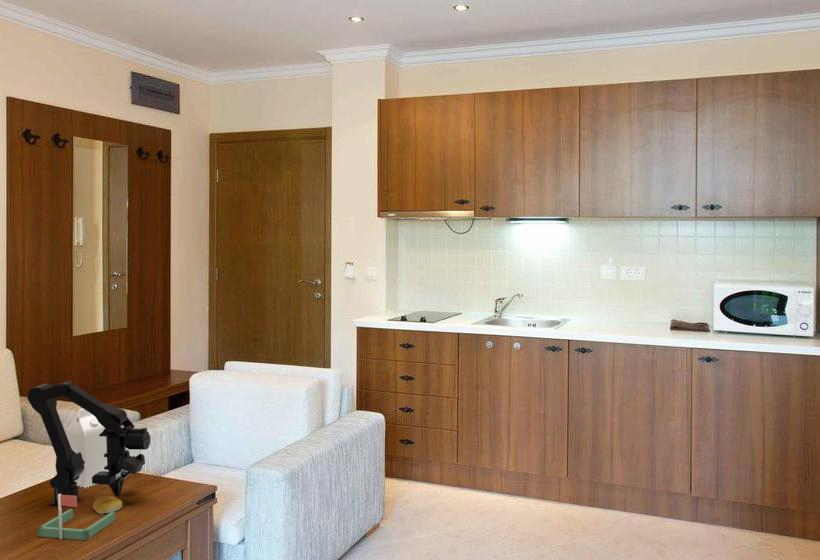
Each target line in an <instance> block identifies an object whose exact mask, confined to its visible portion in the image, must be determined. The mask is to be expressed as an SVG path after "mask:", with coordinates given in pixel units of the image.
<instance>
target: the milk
mask: <svg viewBox="0 0 820 560" xmlns="http://www.w3.org/2000/svg"><path fill="white" fill-rule="evenodd" d="M104 429H105V428H104V427H103V426H102V425H101V424H100V423H99V422H98V420H97V419H96V417H95V416H94V415H93V414H91V413H89V412H88V411H86V410H85V409H83V408H79V409H78V411H77V414H76V418H75V419H74V420H73V421H72V422H71V423H70V424H69V426H67V429H66V430H65V433H66V436H67V438H68V441H69V443H70V446H71V448H72V450H73V451H74V452H75V453H79V452H81V454H82V458H83V460H84V462H85V463H84V470H83V472H82V473H81V474H80V476H79V479H77V480H75V482H77V487H78V486H80V487H79V488H82V487H84V488H83V489H87V488H86V487H88V488H90V487H89V486H91V487H93V486H92V485H94V486H96V485H95V484H92V477H93V476H94V475H95V474H96V473H98V472H100V471H107V472H109V471H108V470H104V467H105V466H106V465H107V457H104V454H105V453H107V446H106V437H105V436H99V434H101V433H102V432H103V430H104Z"/></svg>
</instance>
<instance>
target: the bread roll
mask: <svg viewBox="0 0 820 560" xmlns="http://www.w3.org/2000/svg"><path fill="white" fill-rule="evenodd" d="M122 507H123V501H122V500H121V499H119V497H116V496H115V495H113V494H112V495H110V494H106V495H103V496H99V498H97V499H96V500H95V501H94V502H93V505H92V508H93V510H94V511H95V512H96V513H97V514H98V513H99V515H102V514H103V515H105V514H104V513H107V514H109V513H111V512H115V511H116V512H118V511H120V510H121V509H122ZM120 508H121V509H120ZM117 510H118V511H117ZM116 512H115V513H116Z"/></svg>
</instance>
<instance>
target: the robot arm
mask: <svg viewBox="0 0 820 560" xmlns="http://www.w3.org/2000/svg"><path fill="white" fill-rule="evenodd" d="M60 397H65V399H67V400H69V401H70V402H72V403H74V404H75V405H77V406H79V407H80V408H81V409H85V410H86V411H88V412H89V413H91V414H93V415H94V416H95V417H96V419H97V420H98V422H99V423H100V424H101V425H102V426H103V427H104V428H105V429H104V430H103V432H102V433H101V434H99V436H105V437H106V446H107V453H105V454H104V457H107V465H106V466H105V467H104V470H108V471H109V472H107V471H100V472H98V473H96V474H95V475H94V476H93V477H92V484H96V485H106V486H109V488H110V489H111V492H112V493H113V494H114V495H113V496H115V497H117V498H119V497H120V496H121V493H122V490H123V486H124V483H125V480H126V478H128V476H129V475H131V474H132V475H136V474H137V473H139V472H141V471H142V469H143V466H144V465H145V464H146V459H145V454H142V453H139V454H137V455H136V456H135V455H134V456H132V455H130V451H129V450H135V451H137V450H139V451H141V450H148V449H149V448H150V444H151V435H150V432H149V431H148V428H147V427H140V428H139V427H138V428H137V427H135V425H134V423H132V421H131V419H130V418H129V417H128V413H127V411H125V410H124V409H122V408H119V407H117V406H115V405H111V404H106V403H104V402H102V401H101V400H99V399H98V398H96V397H94V396H93V395H92V394H90V393H89V392H87V391H85V390H84V389H82V388H81V387H80V386H79V387H78V386H77V385H76V384H75V383H74V382H72V381H65V382H64V383H56V384H52V385H51V384H49V383H42V384H39V385H38V386H34V387H33V388H31V389H30V390H29V391H28V393H27V394H26V398H27V401H28V402H29V404H30V407H32V409H33V410H34V411H35V412H36V413H38V415H40V417H41V419H42V423H43V426H44V428H45V430H46V433H47V435H48V436H47V437H48V438H49V441H50V443H51V446H52V448H53V451H54V454H55V456H56V457H55V471H56V475H55V476H53V478H52V479H50V480H49V484H50V487H51V488H53V501H52V502H50V505H52V506H58V494H61V495H69V496H77V502H78V501H79V500H81V496H79V495H80V494H79V487H78V486H77V482H75V480H77V479H79V476H80V474H81V473H82V472H83V470H84V463H85V462H84V460H83V458H82V454H81V452H79V453H75V452H74V451H73V450H72V448H71V446H70V443H69V441H68V438H67V436H66V430H65V428H64V425H63V423H62V421H61V418H60V415H59V413H58V410H57V404H58V398H60ZM122 426H123V427H122Z"/></svg>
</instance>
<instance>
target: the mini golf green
mask: <svg viewBox="0 0 820 560" xmlns="http://www.w3.org/2000/svg"><path fill="white" fill-rule="evenodd" d="M57 507H58V515H57V516H56V517H54V518H53V519H51V520H48V522H45V523H44V524H42V525H39V527H37V536H38V537H39V538H40V537H41V538H54V539H55V538H56V539H59V540H63V539H64V540H65V539H67V540H68V539H69V540H81V541H82V540H83V541H87V540H89V539H90V538H92V537H93V536H95V535H96V534H98V533H100V532H101V531H102V530H103V528H104V529H105V528H107V527H108V526H109V525H111V524H112V523H114V522H115V521H116V512H111V513H107V515H106V514H105V516H103V517H102V518H100V519H99V520H98V521H96V522H94V523H93V524H91V525H90V526H88V527H87V528H85V529H81V528H71V527H70V528H67V527H63V525H64V524H65V523H67V522H68V521H70V520H72V519H74V509H72V508H70V509H67V510H66V511H64V512H62V511H63V510H62V507H75V508H76V507H78V501H77V496H69V495H61V494H58V505H57ZM113 521H114V522H113ZM110 523H111V524H110ZM100 530H101V531H100ZM97 532H98V533H97ZM94 534H95V535H94Z"/></svg>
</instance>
